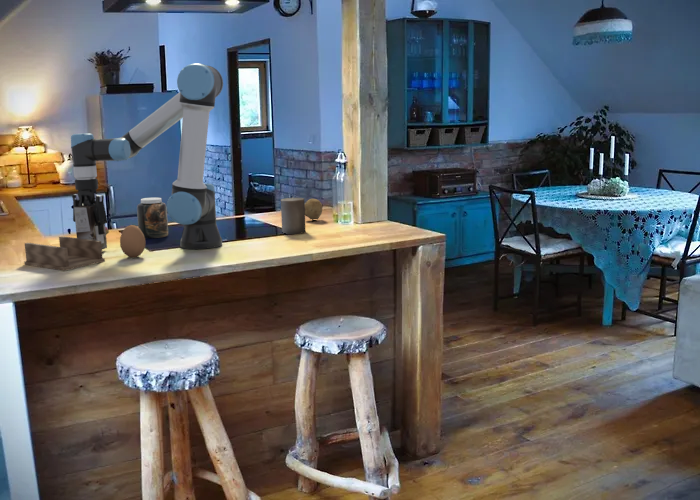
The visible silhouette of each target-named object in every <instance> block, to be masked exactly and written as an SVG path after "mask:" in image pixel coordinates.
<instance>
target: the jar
mask: <svg viewBox="0 0 700 500" xmlns="http://www.w3.org/2000/svg"><path fill="white" fill-rule="evenodd" d="M136 213H137V214H136V215H137V227H138V228H139V229H140V230H141V231H142V233H143V234H144V237H145V239H157V238H158V239H161V238H166V237H168V236H169V227H168V226H169V224H168V212H167V203H165V202H163V201H162V197H144V198H141V199H140V203H138V204H137V206H136Z"/></svg>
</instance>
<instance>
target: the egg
mask: <svg viewBox="0 0 700 500" xmlns="http://www.w3.org/2000/svg"><path fill="white" fill-rule="evenodd" d="M119 245H120V246H119V247H120V249H121V251H122V252H123V254H124V255H125V256H127V257H129V258H130V259H131V258H132V259H133V258H134V259H135V258H138V257H139V256H141V255H142V254H143V252H144V251H145V248H146V238H145V237H144V234H143V233H142V231H141V230H140V229H139V228H138V225H134V224H131V225H128V226H126V227H125V228H124V229H123V230H122V232H121V235H120V239H119Z"/></svg>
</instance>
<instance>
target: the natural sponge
mask: <svg viewBox="0 0 700 500" xmlns="http://www.w3.org/2000/svg"><path fill="white" fill-rule="evenodd" d="M322 214H323V203H322V202H321V201H320V200H319V199H316V198H310V199H308V200H306V201H305V217H307V218H308V219H310V220H311V219H317V220H319V218H320V217H321V215H322Z"/></svg>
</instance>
